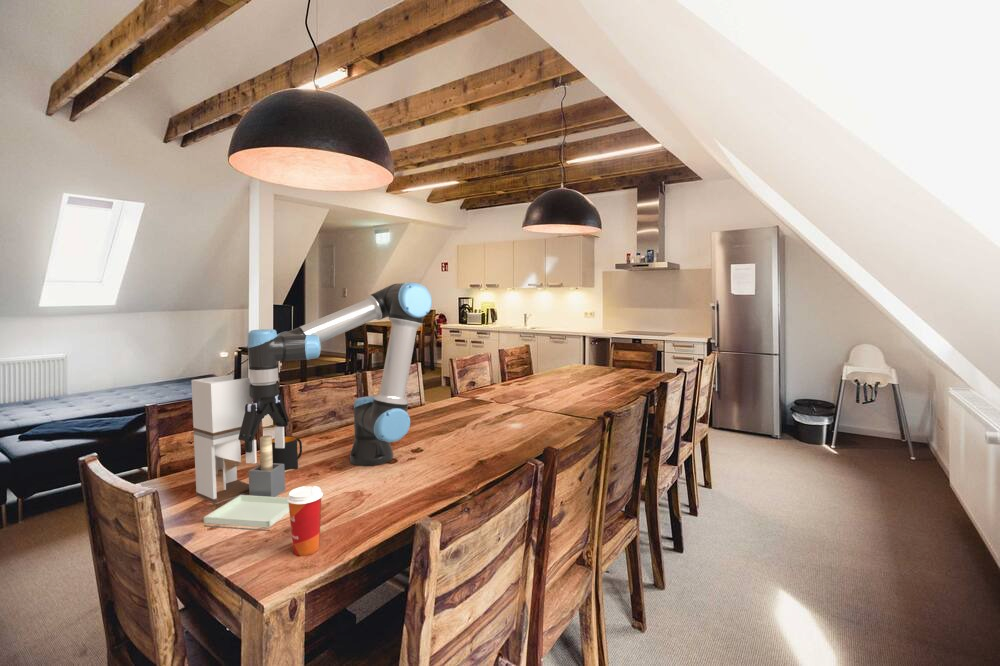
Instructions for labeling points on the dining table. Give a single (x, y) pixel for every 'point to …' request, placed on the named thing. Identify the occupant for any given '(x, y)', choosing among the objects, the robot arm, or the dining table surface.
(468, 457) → the dining table surface
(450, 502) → the dining table surface
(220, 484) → the white coffee maker
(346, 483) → the dining table surface
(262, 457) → the dowel
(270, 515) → the tray
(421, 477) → the dining table surface
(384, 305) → the robot arm
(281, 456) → the mug
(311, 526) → the paper cup
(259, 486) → the pen cup
